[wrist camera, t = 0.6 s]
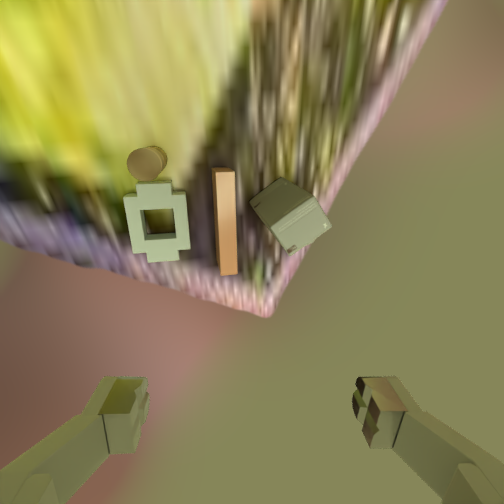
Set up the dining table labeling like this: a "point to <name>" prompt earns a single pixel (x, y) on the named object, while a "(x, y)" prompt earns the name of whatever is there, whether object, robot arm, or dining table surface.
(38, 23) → the dining table surface
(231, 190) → the wall
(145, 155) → the dowel
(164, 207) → the block
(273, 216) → the skincare box
